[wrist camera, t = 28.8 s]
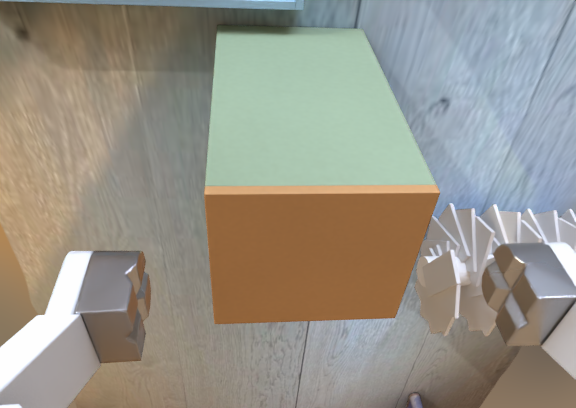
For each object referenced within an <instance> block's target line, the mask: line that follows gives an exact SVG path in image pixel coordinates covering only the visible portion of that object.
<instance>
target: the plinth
mask: <svg viewBox="0 0 576 408" xmlns="http://www.w3.org/2000/svg"><path fill="white" fill-rule="evenodd" d="M439 195H440V191H439V189H438V187H437V185H436V183H435V181H434V178H433V176H432V174H431V172H430V170H429V168H428V166H427V164H426V162H425V159H424V157H423V155H422V153H421V151H420V149H419V147H418V145H417V143H416V141H415V138H414V136H413V134H412V132H411V130H410V128H409V126H408V124H407V122H406V119H405V117H404V115H403V113H402V111H401V109H400V107H399V105H398V103H397V100H396V98H395V96H394V94H393V92H392V90H391V88H390V86H389V84H388V82H387V79H386V77H385V75H384V73H383V71H382V69H381V67H380V65H379V63H378V60H377V58H376V56H375V54H374V52H373V50H372V48H371V46H370V44H369V41H368V39H367V37H366V35H365V33H364V31H363V29H352V28H314V27H276V26H238V25H217V36H216V49H215V62H214V75H213V88H212V100H211V113H210V126H209V139H208V152H207V165H206V178H205V190H204V198H205V211H206V223H207V236H208V248H209V261H210V273H211V286H212V298H213V311H214V323H215V324H232V323H262V322H292V321H322V320H351V319H381V318H395V316H396V314H397V311H398V308H399V305H400V303H401V300H402V297H403V294H404V291H405V289H406V286H407V283H408V280H409V278H410V275H411V272H412V269H413V267H414V264H415V261H416V258H417V256H418V253H419V250H420V247H421V244H422V242H423V239H424V236H425V233H426V231H427V228H428V225H429V222H430V220H431V217H432V214H433V211H434V208H435V206H436V203H437V200H438V197H439Z"/></svg>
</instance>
